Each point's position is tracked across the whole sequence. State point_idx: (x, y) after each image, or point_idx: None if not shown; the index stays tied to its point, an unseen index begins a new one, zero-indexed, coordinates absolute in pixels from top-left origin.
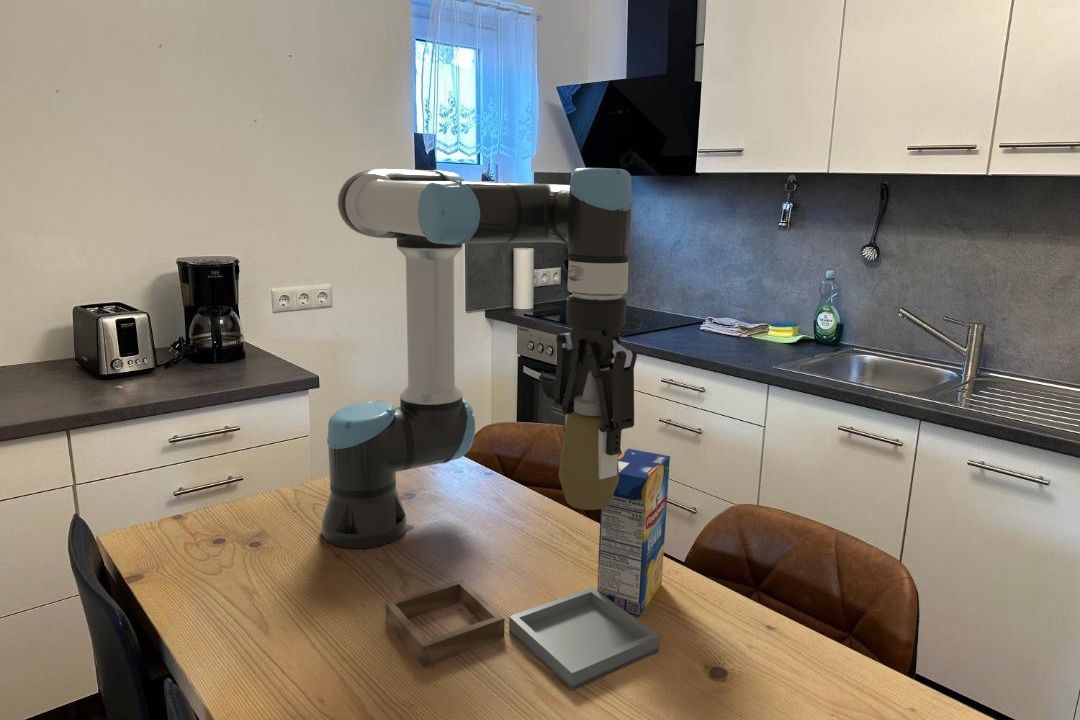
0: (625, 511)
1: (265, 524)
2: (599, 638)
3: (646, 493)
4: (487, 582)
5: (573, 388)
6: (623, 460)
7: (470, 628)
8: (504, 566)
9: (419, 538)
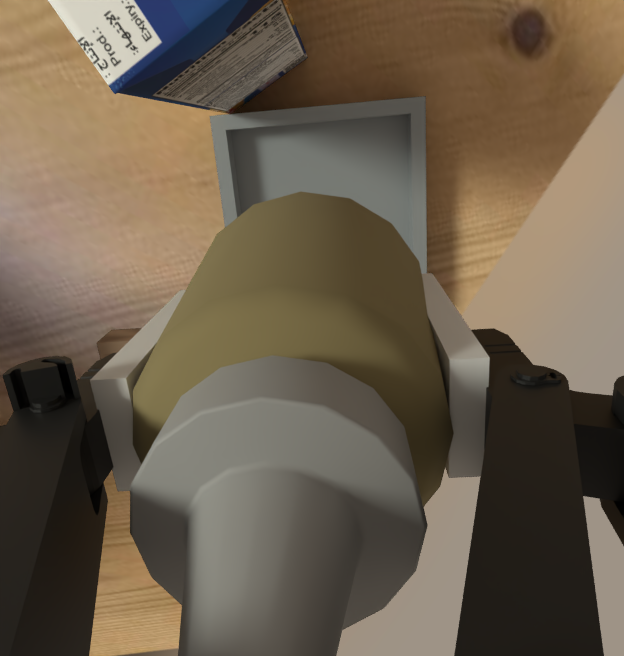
0: (231, 47)
1: None
2: (340, 184)
3: None
4: (77, 269)
5: (86, 637)
6: None
7: None
8: (27, 210)
9: None
